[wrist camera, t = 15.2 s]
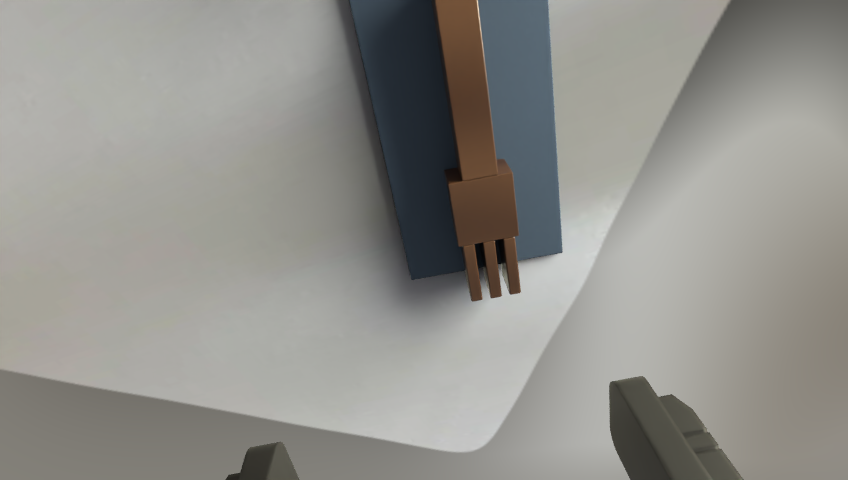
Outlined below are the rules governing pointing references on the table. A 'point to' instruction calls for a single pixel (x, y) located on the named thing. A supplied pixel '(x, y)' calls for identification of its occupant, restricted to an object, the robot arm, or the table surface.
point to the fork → (475, 153)
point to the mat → (431, 129)
